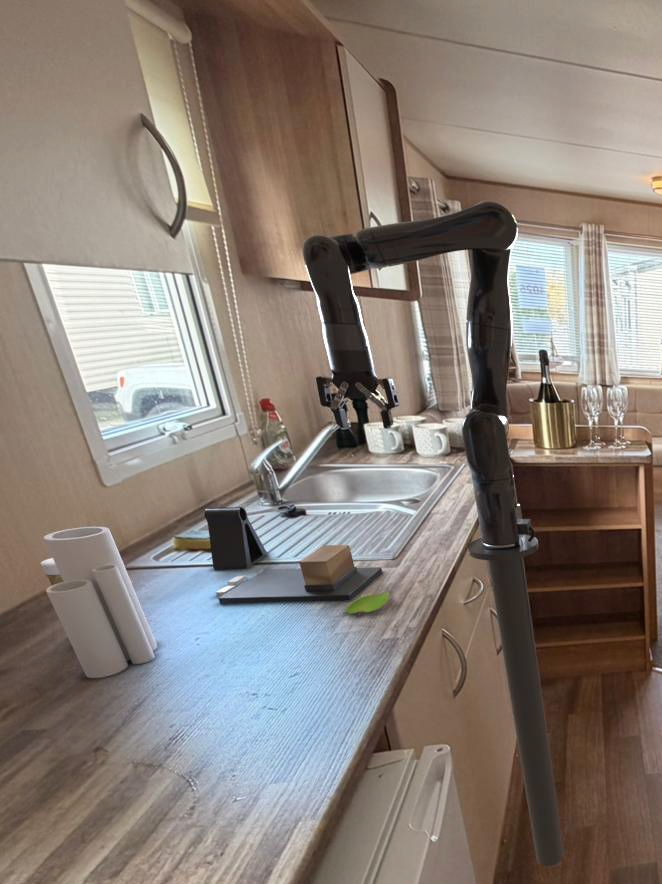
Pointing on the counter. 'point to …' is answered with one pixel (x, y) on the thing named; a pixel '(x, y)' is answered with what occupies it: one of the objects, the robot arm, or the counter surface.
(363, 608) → the decorative leaf
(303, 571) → the eraser
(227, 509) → the phone stand
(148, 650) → the vase
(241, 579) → the small white block
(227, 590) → the small white block
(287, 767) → the counter surface
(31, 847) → the counter surface
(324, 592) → the memo board
